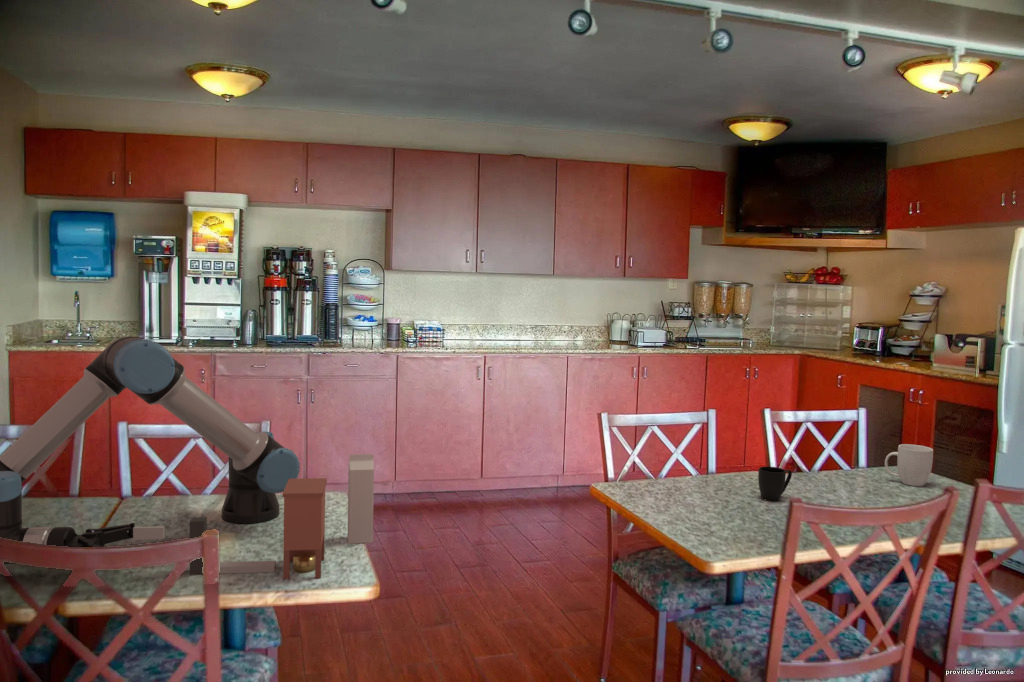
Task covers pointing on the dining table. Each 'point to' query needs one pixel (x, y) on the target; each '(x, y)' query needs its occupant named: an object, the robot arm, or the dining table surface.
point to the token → (304, 562)
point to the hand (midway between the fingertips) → (155, 542)
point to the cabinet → (304, 521)
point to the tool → (196, 530)
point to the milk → (360, 498)
